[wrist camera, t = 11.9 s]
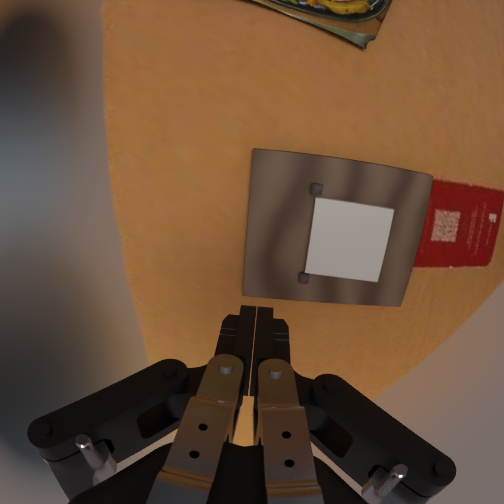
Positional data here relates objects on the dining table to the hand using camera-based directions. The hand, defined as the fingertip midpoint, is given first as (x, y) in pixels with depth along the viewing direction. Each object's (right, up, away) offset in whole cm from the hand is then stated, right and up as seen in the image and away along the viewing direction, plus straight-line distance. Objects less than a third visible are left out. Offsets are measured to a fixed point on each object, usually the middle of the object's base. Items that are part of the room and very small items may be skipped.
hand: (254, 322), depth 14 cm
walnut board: (+11, +6, +26) cm, 29 cm away
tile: (+12, +5, +23) cm, 26 cm away
